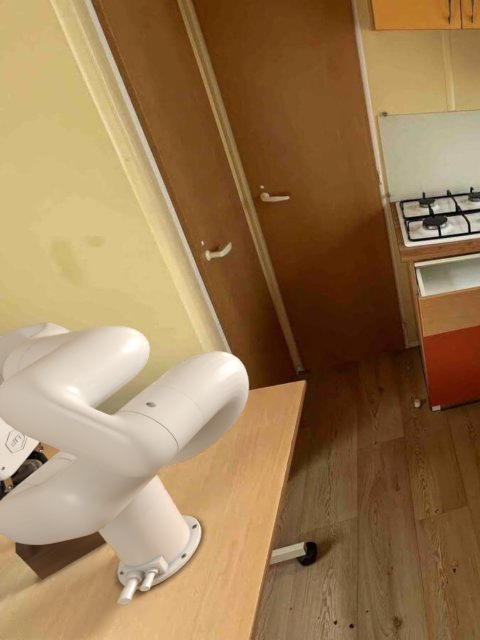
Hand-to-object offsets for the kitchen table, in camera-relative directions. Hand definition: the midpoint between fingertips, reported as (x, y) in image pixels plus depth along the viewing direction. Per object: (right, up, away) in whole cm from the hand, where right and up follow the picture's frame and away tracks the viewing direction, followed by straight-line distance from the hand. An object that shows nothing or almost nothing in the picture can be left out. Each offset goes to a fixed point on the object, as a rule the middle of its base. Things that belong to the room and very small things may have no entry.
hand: (29, 485), depth 75 cm
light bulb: (0, -9, +5) cm, 10 cm away
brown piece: (0, -14, +8) cm, 16 cm away
